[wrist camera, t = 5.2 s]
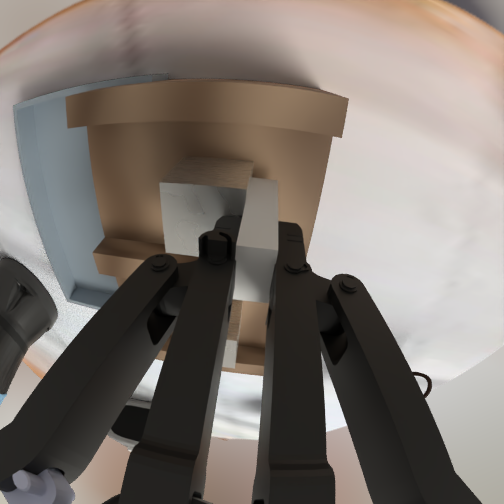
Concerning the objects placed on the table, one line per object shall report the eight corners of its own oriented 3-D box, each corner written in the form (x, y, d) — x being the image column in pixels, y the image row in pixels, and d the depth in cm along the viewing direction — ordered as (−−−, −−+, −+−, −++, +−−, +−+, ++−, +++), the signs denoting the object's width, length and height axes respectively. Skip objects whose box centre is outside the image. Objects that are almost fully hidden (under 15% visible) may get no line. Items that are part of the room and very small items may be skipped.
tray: (77, 286, 32) (67, 301, 30) (33, 98, 17) (13, 105, 15) (181, 306, 32) (174, 325, 29) (168, 73, 17) (152, 74, 14)
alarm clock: (184, 405, 53) (172, 458, 42) (197, 419, 58) (188, 466, 48) (111, 392, 56) (96, 437, 45) (129, 408, 62) (117, 448, 51)
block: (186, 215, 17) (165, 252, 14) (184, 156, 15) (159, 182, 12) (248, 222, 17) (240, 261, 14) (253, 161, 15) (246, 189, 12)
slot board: (153, 299, 32) (130, 353, 25) (128, 83, 17) (65, 96, 11) (278, 316, 31) (276, 377, 25) (321, 89, 17) (348, 98, 11)
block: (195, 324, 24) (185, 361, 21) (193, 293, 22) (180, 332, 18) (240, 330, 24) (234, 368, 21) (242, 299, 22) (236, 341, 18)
